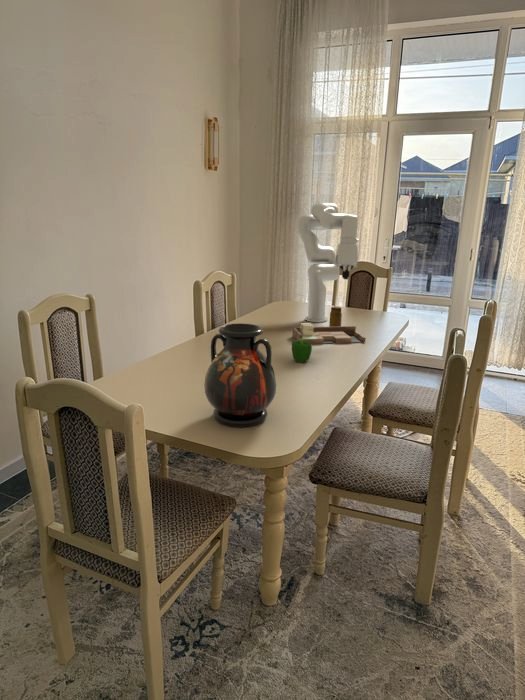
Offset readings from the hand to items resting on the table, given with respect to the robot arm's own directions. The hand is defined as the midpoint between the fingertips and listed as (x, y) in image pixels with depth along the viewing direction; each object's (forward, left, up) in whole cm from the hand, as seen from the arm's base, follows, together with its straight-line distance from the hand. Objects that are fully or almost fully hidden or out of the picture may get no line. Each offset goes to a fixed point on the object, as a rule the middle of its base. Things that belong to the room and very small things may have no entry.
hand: (345, 278), depth 244 cm
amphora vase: (+97, -64, -28) cm, 119 cm away
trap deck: (+13, -10, -28) cm, 32 cm away
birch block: (+11, -21, -25) cm, 35 cm away
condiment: (-5, -1, -28) cm, 28 cm away
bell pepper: (+44, -32, -28) cm, 61 cm away
